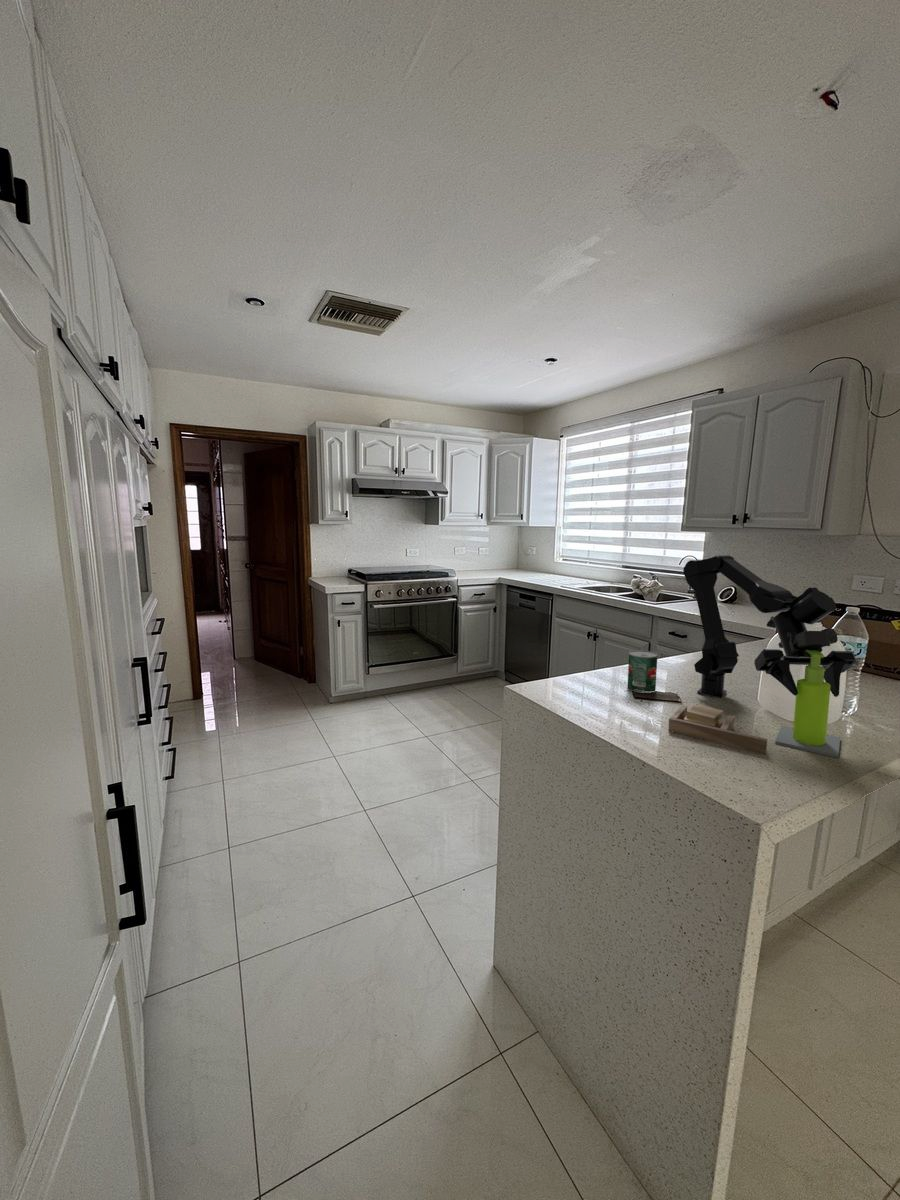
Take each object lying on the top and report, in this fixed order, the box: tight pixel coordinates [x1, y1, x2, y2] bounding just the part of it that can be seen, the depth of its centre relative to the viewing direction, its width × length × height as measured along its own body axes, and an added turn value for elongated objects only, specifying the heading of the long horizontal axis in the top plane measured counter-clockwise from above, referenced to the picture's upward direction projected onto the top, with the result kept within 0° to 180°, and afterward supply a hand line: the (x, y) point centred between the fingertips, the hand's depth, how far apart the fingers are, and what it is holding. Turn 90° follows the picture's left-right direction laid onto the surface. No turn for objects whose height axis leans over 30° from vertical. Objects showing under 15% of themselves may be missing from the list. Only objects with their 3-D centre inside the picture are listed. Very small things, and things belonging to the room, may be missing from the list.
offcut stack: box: [684, 704, 724, 728], centre depth 116 cm, size 8×7×4 cm
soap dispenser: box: [792, 650, 831, 745], centre depth 108 cm, size 6×7×20 cm
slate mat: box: [774, 725, 841, 759], centre depth 109 cm, size 11×11×1 cm
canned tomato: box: [626, 649, 658, 692], centre depth 144 cm, size 8×8×11 cm
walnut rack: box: [668, 705, 768, 755], centre depth 113 cm, size 11×20×3 cm, turn 50°
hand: (816, 695), depth 106 cm, fingers open, 8 cm apart
